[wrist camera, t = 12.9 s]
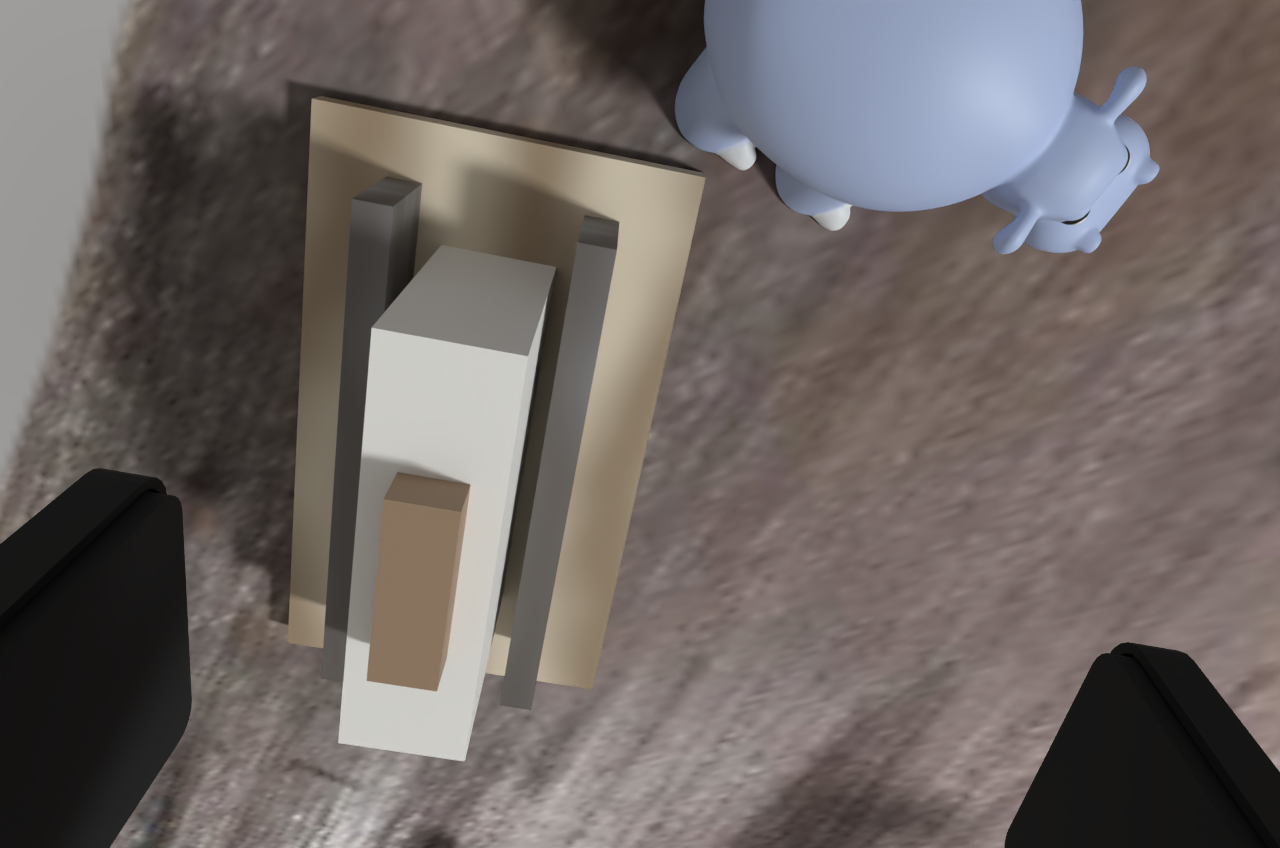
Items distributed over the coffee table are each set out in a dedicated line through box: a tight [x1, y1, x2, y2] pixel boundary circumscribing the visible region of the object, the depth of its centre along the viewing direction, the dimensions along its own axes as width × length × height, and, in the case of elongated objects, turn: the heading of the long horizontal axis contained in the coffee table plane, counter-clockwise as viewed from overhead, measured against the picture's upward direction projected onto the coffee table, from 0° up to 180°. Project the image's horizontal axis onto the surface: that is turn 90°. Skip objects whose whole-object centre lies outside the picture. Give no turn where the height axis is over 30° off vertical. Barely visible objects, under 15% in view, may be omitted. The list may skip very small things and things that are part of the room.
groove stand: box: [288, 96, 706, 710], centre depth 33 cm, size 13×22×5 cm, turn 169°
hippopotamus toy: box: [675, 0, 1159, 254], centre depth 26 cm, size 11×15×10 cm
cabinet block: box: [338, 245, 556, 761], centre depth 29 cm, size 4×14×10 cm, turn 169°
